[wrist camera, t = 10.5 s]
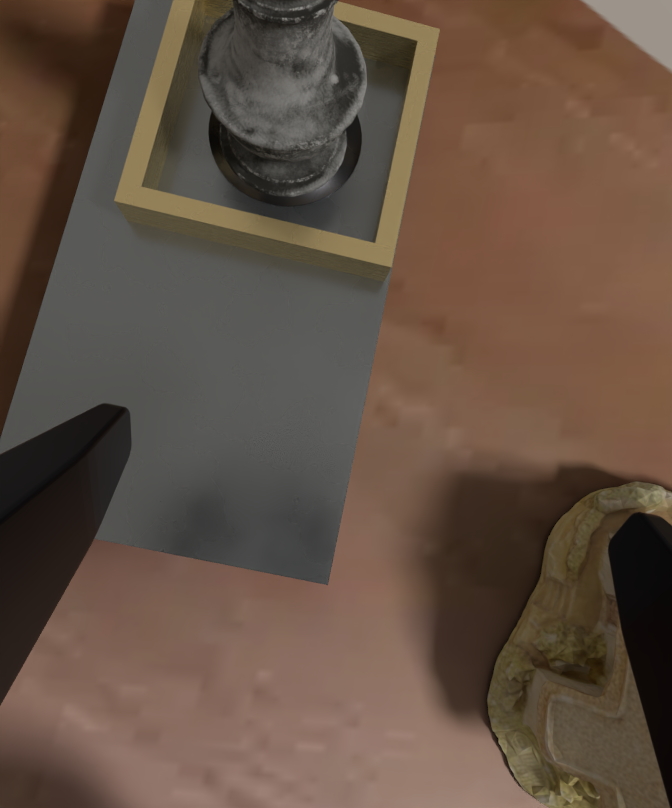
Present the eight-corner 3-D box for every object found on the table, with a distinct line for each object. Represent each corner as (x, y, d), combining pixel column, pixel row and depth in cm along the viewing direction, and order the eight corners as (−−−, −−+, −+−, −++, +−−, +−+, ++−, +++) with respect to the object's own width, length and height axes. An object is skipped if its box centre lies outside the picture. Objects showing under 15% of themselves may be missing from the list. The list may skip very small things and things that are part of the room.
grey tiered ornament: (182, 122, 21) (48, -339, 9) (294, 48, 22) (306, -458, 10) (272, 230, 21) (258, -94, 9) (381, 152, 21) (502, -238, 10)
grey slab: (323, 571, 22) (331, 594, 18) (13, 510, 21) (-51, 519, 17) (420, 96, 25) (445, 26, 21) (157, 27, 24) (131, -59, 20)
